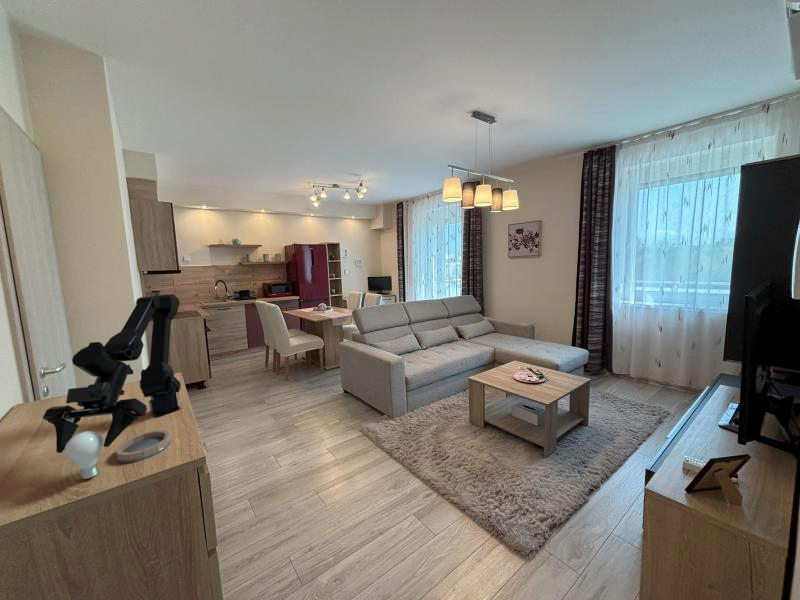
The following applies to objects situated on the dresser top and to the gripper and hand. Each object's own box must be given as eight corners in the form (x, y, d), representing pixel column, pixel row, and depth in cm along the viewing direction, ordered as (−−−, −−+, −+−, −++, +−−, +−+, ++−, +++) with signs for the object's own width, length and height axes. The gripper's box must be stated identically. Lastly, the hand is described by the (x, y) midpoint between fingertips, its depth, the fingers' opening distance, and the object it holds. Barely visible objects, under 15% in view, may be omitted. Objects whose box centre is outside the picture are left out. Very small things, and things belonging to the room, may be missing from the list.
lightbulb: (76, 491, 70) (66, 444, 68) (67, 481, 73) (58, 436, 71) (113, 473, 75) (105, 430, 73) (103, 465, 78) (95, 423, 77)
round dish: (162, 432, 92) (161, 425, 92) (177, 445, 86) (176, 438, 85) (111, 452, 83) (110, 445, 83) (123, 468, 77) (122, 460, 76)
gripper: (41, 374, 74) (1, 446, 64) (132, 366, 77) (107, 434, 68) (75, 393, 82) (44, 458, 73) (155, 385, 86) (136, 447, 76)
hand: (82, 449), depth 72 cm, fingers open, 9 cm apart
